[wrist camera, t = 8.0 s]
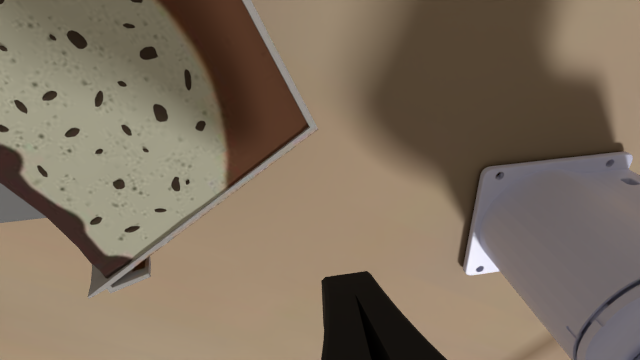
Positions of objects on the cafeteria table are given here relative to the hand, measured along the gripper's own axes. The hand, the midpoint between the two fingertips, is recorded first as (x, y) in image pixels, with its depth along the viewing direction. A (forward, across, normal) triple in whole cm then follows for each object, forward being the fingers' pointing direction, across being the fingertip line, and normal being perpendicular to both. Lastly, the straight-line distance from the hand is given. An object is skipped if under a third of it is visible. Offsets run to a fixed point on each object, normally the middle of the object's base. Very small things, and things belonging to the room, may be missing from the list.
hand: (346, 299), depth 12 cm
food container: (+9, +2, -7) cm, 11 cm away
